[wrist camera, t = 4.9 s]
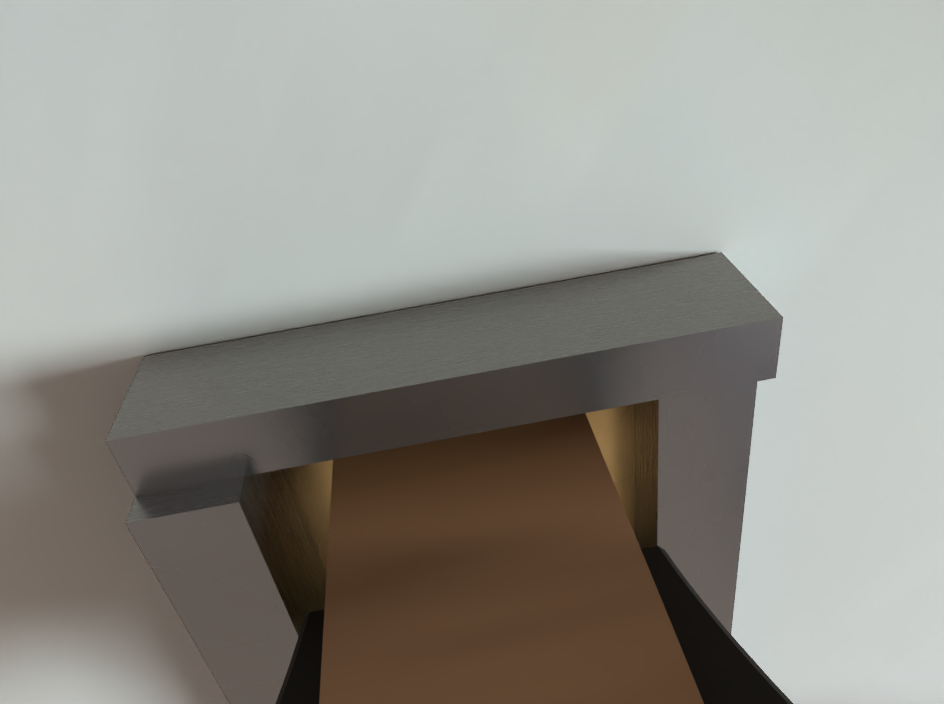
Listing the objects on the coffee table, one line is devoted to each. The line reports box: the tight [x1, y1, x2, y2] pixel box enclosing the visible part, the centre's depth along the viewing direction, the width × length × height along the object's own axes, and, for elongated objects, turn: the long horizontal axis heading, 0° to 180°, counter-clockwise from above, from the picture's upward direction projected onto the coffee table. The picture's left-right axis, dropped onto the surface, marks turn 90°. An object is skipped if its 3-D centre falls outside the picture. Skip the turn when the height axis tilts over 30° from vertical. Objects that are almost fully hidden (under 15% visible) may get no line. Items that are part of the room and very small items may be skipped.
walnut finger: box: [319, 413, 704, 704], centre depth 11 cm, size 5×4×6 cm
